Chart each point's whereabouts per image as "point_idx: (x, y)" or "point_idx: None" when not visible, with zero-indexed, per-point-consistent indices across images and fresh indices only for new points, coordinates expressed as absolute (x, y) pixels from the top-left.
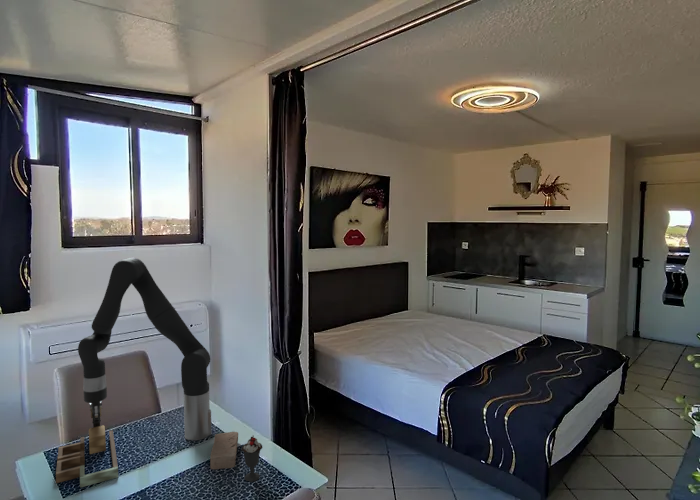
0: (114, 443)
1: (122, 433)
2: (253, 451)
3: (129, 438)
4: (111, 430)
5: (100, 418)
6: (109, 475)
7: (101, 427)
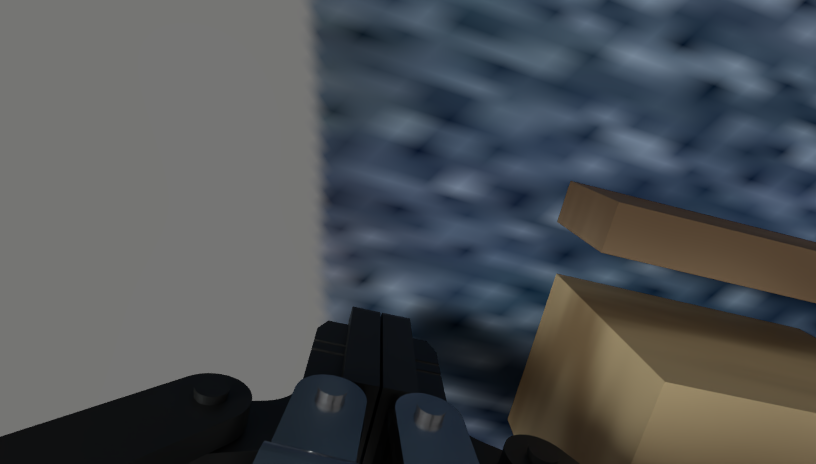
0: None
1: (541, 41)
2: None
3: (761, 20)
4: (611, 220)
5: (344, 390)
6: None
7: (709, 439)
